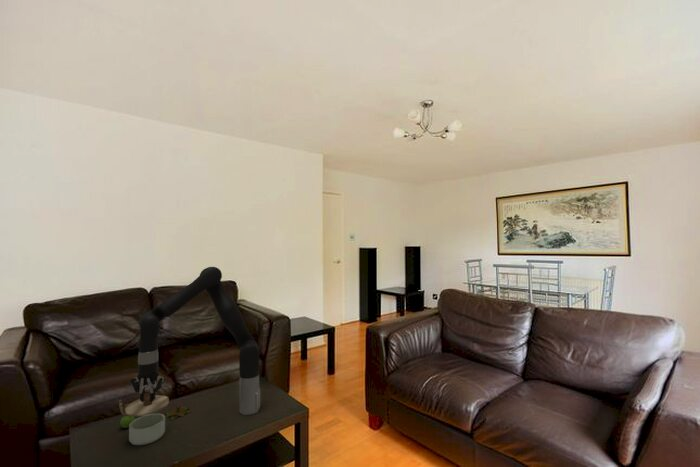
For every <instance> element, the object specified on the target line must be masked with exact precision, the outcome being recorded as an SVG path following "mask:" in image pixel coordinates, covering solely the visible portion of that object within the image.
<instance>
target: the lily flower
mask: <svg viewBox="0 0 700 467" xmlns="http://www.w3.org/2000/svg"><path fill="white" fill-rule="evenodd" d="M178 403H179V402H178ZM183 404H184V403H179V406H178V405H177V404H176V405H174V408H172V409H171V411H168V412H166V413H164V414H163V415H165V414H166V416H165V419H166V418H169V417H170V418H171V419H172V420H175V419H176V418H177V417H184V416H185V414H188V413H192V411H191V410H188V409H189V407H186V406H182V405H183Z"/></svg>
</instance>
